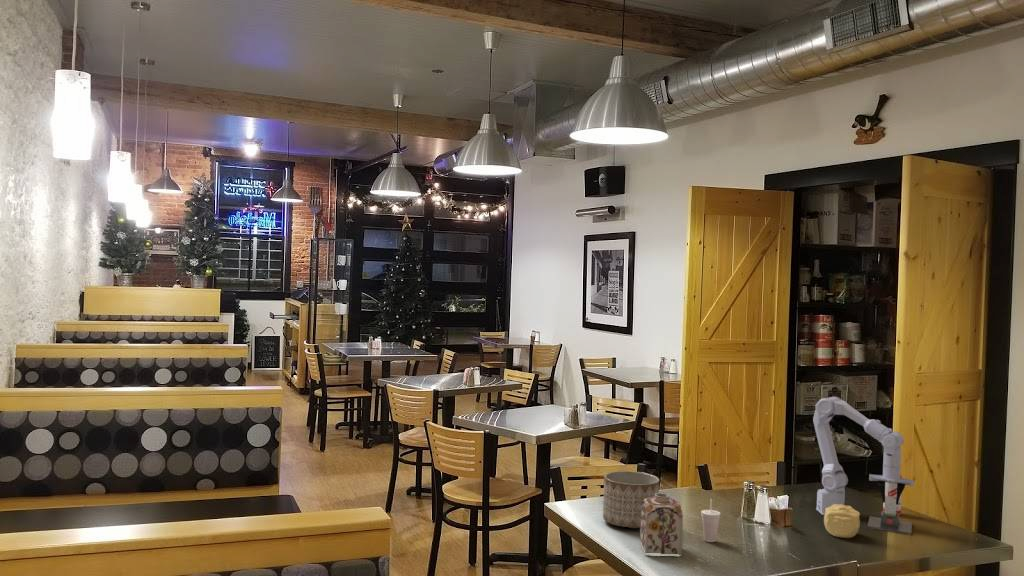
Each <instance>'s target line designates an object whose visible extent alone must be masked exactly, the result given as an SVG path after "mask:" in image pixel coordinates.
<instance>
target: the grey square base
mask: <svg viewBox="0 0 1024 576" xmlns="http://www.w3.org/2000/svg"><path fill="white" fill-rule="evenodd" d="M912 523H913V522H909V521H903V520H900V514H899V513H896V517H895V516H889V515H884V511H883V510H881V513H880V517H877V516H873V515H870V516H869V518H868V522H867V529H869V530H876V531H883V532H888V531H889V532H890V533H894V532H897V533H896V534H900V533H904V534H903V535H906V534H910V535H909V536H912V526H913V524H912ZM889 532H888V533H889Z"/></svg>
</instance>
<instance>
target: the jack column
mask: <svg viewBox="0 0 1024 576" xmlns="http://www.w3.org/2000/svg"><path fill="white" fill-rule="evenodd" d="M884 515H889V516H895V517H896V497H893V496H885V511H884Z"/></svg>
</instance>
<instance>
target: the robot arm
mask: <svg viewBox="0 0 1024 576" xmlns="http://www.w3.org/2000/svg"><path fill="white" fill-rule="evenodd" d="M814 407H815V410H814V414H813V418H812V421H813V426H814V431H815V435H816V439H817V443H818V447H819V450H820V451H819V452H820V455H821V458H822V462H823V467H822V470H821V473H822V477H821V483H822V486H823V488H822V489H821V488H820V489H817V492H816V508H815V510H816V511H817V512H818V513H820V514H821V515H822V516H825V513H826V512H825V509H826V508H828V507H830V506H832V505H833V504H837V505H841V504H843V505H845V497H846V495H845V494H846V489H845V487H846V486H847V485H848V482H849V479H848V476H847V474H846V473H845V471H844V468H843V466H842V465H841V464H840V463H839V460H838V456H837V455H838V454H837V451H836V448H835V444H834V439H833V434H832V432H831V427H830V421H831V420H832V418H833V417H834V416H836V415H839V416H845V417H847V418H849V420H852V421H854V422H855V423H856V424H858V425H859V426H862V427H863V429H864V432H865V433H866V434H868V435H870V436H871V437H872V438H874V439H875V440H877V441H879V442H880V443H881V445H882V447H883V456H882V457H883V460H882V461H883V462H882V474H871V473H869V474H868V475H869V476H868V477H869V478H868V481H870V482H877V486H878V489H879V490H880V493H881V498H882V503H885V482H887V483H894V484H897V498H896V504H897V505H898V502H899V498H900V496H901V493H902V494H903V491H904V490H905V488H906V486H910V487H914V486H915V480H914V479H910V478H909V479H908V478H905V477H902V478H900V473H901V465H902V464H901V463H902V446H903V444H904V443H905V442H904V441H905V439H904V436H903V435H902V434H901V433H900V432H899V431H893V429H892V428H890V427H887V426H886V425H884V424H882V421H881V420H879V419H874V418H873V419H869V418H868V417H866V416H865V415H864V414H862V413H860V412H859V411H858V410H857V409H855V408H854V407H853V406H851V405H850V404H849V403H847V401H845V400H843V399H841V398H840V397H837V396H831V397H826V398H825V397H823V398H820V399H819V400H818V401H817V402H816V404H815V405H814Z"/></svg>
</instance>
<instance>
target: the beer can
mask: <svg viewBox="0 0 1024 576" xmlns="http://www.w3.org/2000/svg"><path fill="white" fill-rule="evenodd" d="M900 478H903V476H902V475H901V472H900ZM902 494H903V492H902V493H901V496H900V498H899V502H898V505H897V504H896V513H899V515H901V514H902V499H903V498H902V497H903V496H902ZM885 496H893V497H896V498H897V484H894V483H887V482H885ZM882 503H883V502H882ZM882 511H885V503H883V504H882Z"/></svg>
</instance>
